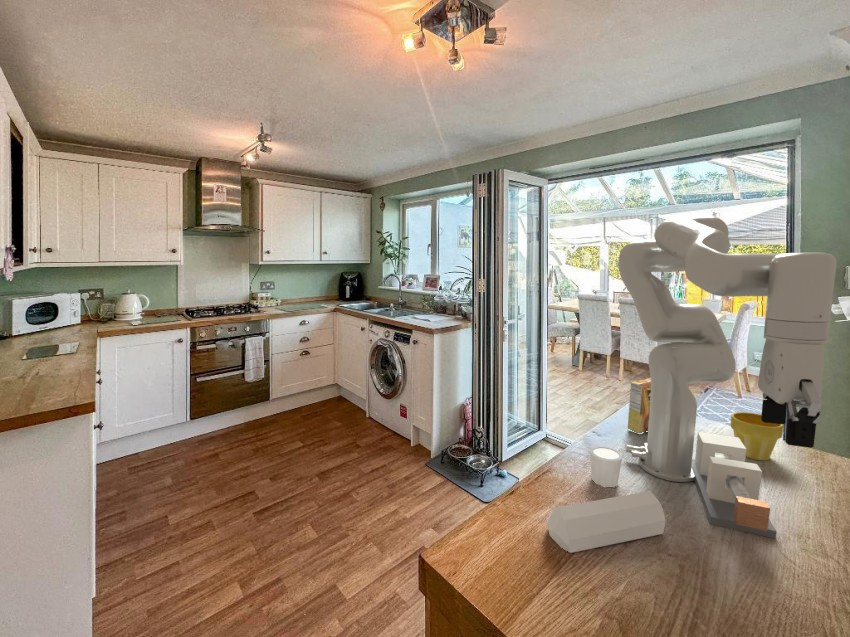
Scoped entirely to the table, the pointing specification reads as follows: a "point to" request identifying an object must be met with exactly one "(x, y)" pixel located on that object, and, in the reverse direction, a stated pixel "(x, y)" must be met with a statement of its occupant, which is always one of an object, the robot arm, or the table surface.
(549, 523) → the crystal
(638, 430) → the candy box
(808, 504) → the table surface
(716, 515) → the bearing base
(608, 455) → the shot glass
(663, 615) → the table surface
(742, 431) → the plant pot
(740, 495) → the shaft
